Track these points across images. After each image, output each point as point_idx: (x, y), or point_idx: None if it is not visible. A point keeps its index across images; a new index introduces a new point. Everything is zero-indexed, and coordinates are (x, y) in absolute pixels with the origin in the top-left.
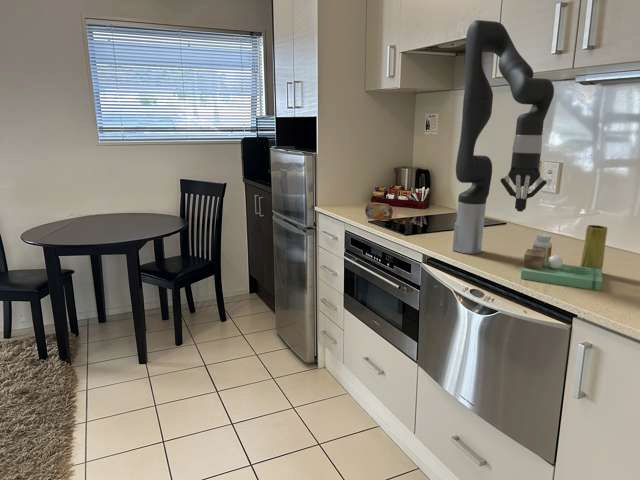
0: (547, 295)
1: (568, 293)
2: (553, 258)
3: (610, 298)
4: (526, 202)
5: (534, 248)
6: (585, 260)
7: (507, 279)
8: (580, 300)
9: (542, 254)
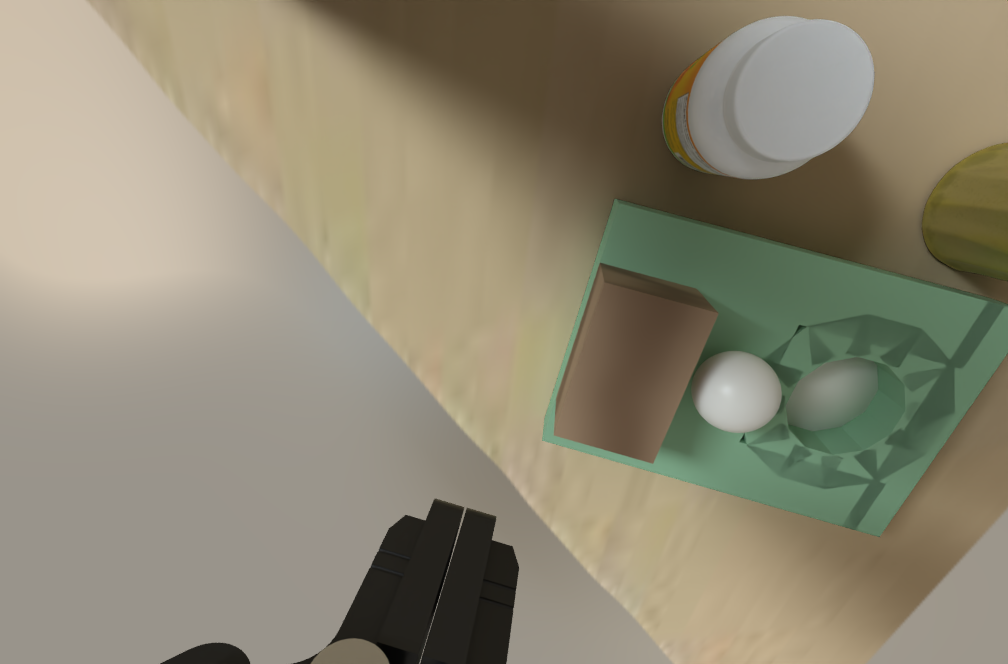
0: (606, 586)
1: (694, 556)
2: (721, 426)
3: (844, 580)
4: (509, 636)
5: (686, 138)
6: (996, 257)
7: (486, 442)
8: (710, 612)
9: (665, 409)
